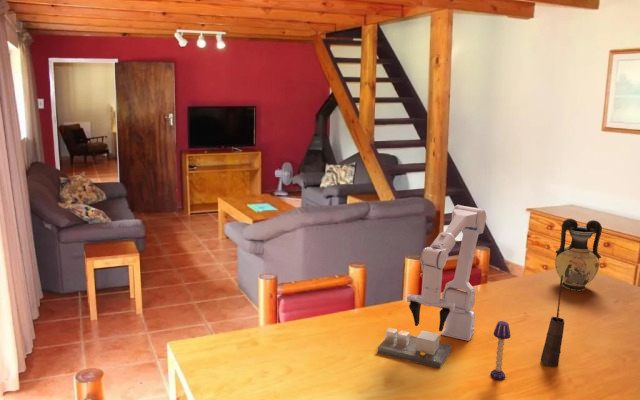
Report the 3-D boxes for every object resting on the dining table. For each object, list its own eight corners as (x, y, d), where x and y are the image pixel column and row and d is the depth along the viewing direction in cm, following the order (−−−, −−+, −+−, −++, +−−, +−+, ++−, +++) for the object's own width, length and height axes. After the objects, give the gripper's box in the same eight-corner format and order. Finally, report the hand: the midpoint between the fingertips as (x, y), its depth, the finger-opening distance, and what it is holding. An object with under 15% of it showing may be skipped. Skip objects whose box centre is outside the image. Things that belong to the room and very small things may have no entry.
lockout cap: (438, 347, 174) (439, 334, 173) (433, 355, 169) (434, 341, 168) (421, 343, 176) (422, 330, 175) (415, 350, 171) (416, 337, 171)
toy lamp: (487, 371, 164) (492, 319, 160) (502, 371, 164) (507, 319, 161) (493, 380, 159) (498, 326, 155) (509, 380, 159) (514, 326, 156)
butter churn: (565, 375, 162) (576, 286, 157) (531, 366, 167) (541, 279, 161) (569, 363, 170) (580, 277, 164) (537, 354, 175) (546, 270, 169)
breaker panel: (451, 350, 176) (452, 335, 175) (440, 368, 165) (441, 351, 164) (392, 336, 185) (392, 321, 184) (377, 352, 174) (378, 336, 173)
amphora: (556, 292, 229) (565, 222, 223) (547, 278, 245) (554, 213, 239) (602, 296, 226) (611, 225, 220) (589, 282, 242) (598, 215, 236)
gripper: (404, 285, 168) (402, 327, 171) (451, 294, 162) (448, 337, 164) (412, 278, 174) (409, 318, 177) (457, 287, 168) (454, 328, 171)
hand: (428, 327), depth 171 cm, fingers open, 7 cm apart
